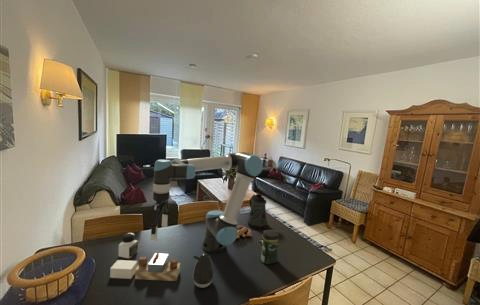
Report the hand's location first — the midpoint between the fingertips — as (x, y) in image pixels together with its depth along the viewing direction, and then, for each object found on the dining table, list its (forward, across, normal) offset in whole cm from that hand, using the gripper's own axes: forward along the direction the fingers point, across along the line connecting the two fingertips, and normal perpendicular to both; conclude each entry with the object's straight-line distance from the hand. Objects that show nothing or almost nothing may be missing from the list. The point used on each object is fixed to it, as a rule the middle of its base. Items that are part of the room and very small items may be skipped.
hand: (159, 232), depth 103 cm
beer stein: (+21, -64, +55) cm, 88 cm away
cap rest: (+22, +1, -16) cm, 28 cm away
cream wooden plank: (+22, +1, +1) cm, 22 cm away
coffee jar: (+22, -18, +59) cm, 65 cm away
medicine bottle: (+23, -15, -23) cm, 35 cm away
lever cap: (+17, +1, +1) cm, 17 cm away
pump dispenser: (+22, +4, +24) cm, 33 cm away
